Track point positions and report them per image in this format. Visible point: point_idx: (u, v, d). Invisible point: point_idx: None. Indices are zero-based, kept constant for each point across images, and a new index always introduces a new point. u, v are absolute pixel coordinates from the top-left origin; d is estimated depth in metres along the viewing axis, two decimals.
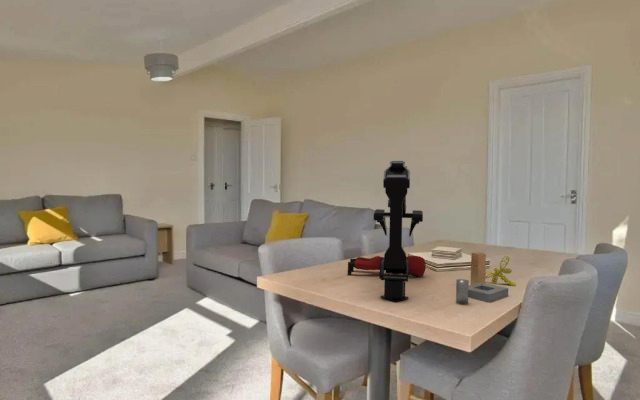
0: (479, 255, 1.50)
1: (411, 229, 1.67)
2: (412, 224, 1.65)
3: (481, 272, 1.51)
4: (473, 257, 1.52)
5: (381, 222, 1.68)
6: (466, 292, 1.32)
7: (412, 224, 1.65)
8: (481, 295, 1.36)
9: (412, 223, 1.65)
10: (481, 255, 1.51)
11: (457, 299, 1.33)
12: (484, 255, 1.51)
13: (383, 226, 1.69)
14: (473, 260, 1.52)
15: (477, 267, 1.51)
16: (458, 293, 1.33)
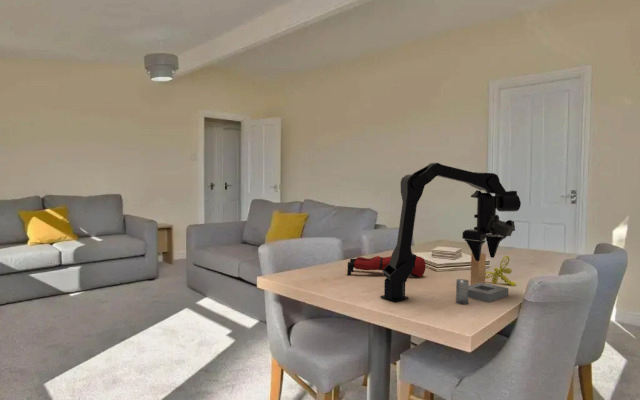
0: None
1: None
2: None
3: (481, 272, 1.51)
4: (473, 257, 1.52)
5: None
6: (466, 292, 1.32)
7: None
8: (481, 295, 1.36)
9: None
10: (481, 255, 1.51)
11: (457, 299, 1.33)
12: (484, 255, 1.51)
13: None
14: (473, 260, 1.52)
15: (477, 267, 1.51)
16: (458, 293, 1.33)
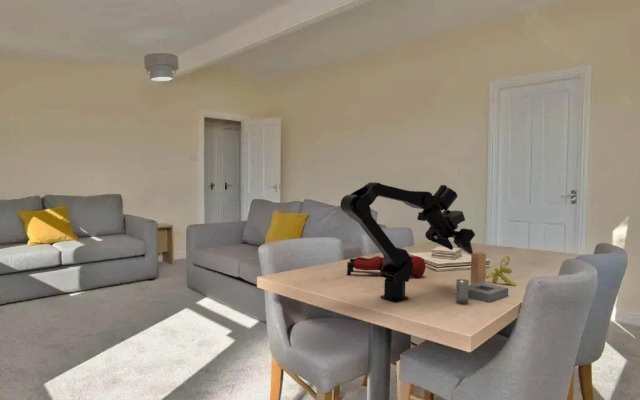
0: (479, 255, 1.50)
1: (464, 250, 1.42)
2: None
3: (481, 272, 1.51)
4: (473, 257, 1.52)
5: None
6: (466, 292, 1.32)
7: (459, 247, 1.41)
8: (481, 295, 1.36)
9: (458, 247, 1.41)
10: (481, 255, 1.51)
11: (457, 299, 1.33)
12: (484, 255, 1.51)
13: (440, 244, 1.52)
14: (473, 260, 1.52)
15: (477, 267, 1.51)
16: (458, 293, 1.33)
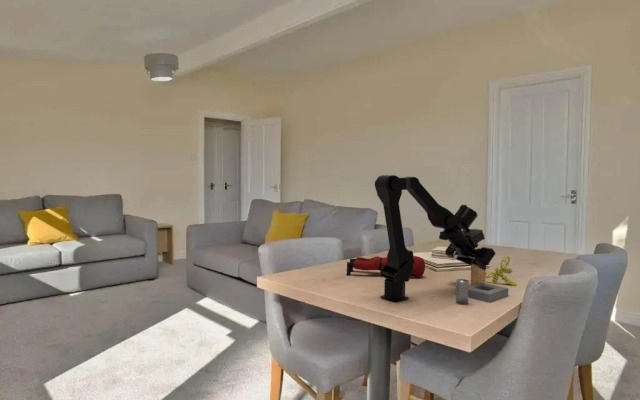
0: None
1: (478, 266, 1.49)
2: (474, 264, 1.48)
3: (481, 272, 1.51)
4: None
5: (460, 260, 1.53)
6: (466, 292, 1.32)
7: None
8: (481, 295, 1.36)
9: None
10: None
11: (457, 299, 1.33)
12: None
13: None
14: (473, 260, 1.52)
15: (477, 267, 1.51)
16: (458, 293, 1.33)
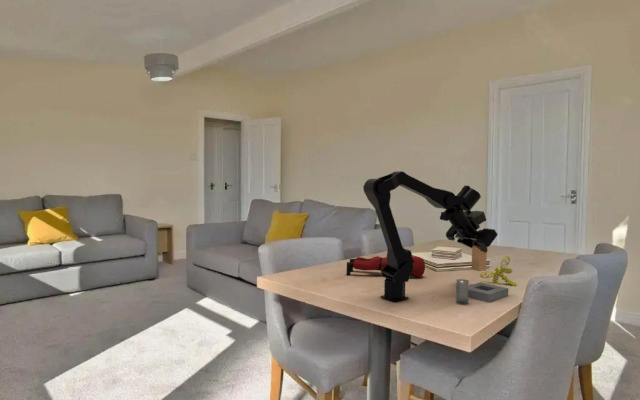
0: None
1: None
2: (475, 246, 1.45)
3: (482, 254, 1.48)
4: None
5: None
6: (466, 292, 1.32)
7: (475, 246, 1.45)
8: (481, 295, 1.36)
9: (474, 245, 1.45)
10: None
11: (457, 299, 1.33)
12: None
13: (466, 245, 1.51)
14: (474, 242, 1.50)
15: (478, 249, 1.48)
16: (458, 293, 1.33)
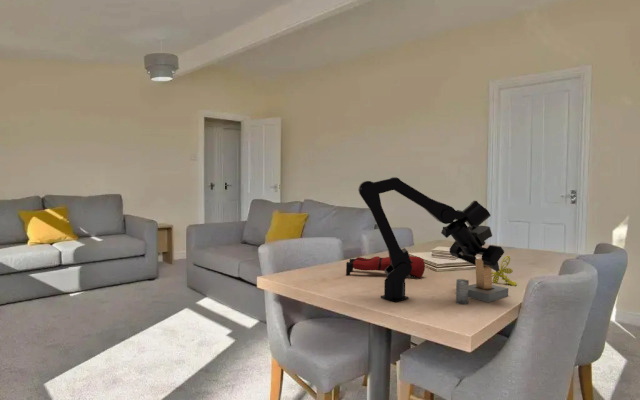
0: None
1: (490, 267, 1.36)
2: (486, 265, 1.35)
3: (487, 279, 1.40)
4: (477, 264, 1.41)
5: (460, 258, 1.44)
6: (466, 292, 1.32)
7: (486, 265, 1.35)
8: (481, 295, 1.36)
9: (485, 264, 1.35)
10: None
11: (457, 299, 1.33)
12: None
13: (466, 261, 1.44)
14: (478, 267, 1.41)
15: (482, 274, 1.39)
16: (458, 293, 1.33)
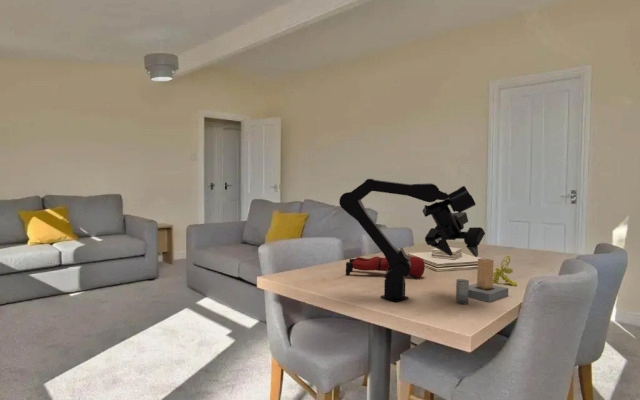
0: (486, 261, 1.39)
1: (472, 251, 1.34)
2: (468, 248, 1.32)
3: (488, 279, 1.40)
4: (479, 263, 1.41)
5: (435, 246, 1.41)
6: (466, 292, 1.32)
7: (468, 247, 1.32)
8: (481, 295, 1.36)
9: (468, 247, 1.32)
10: (488, 261, 1.40)
11: (457, 299, 1.33)
12: (491, 261, 1.40)
13: (440, 249, 1.41)
14: (479, 267, 1.41)
15: (484, 274, 1.40)
16: (458, 293, 1.33)
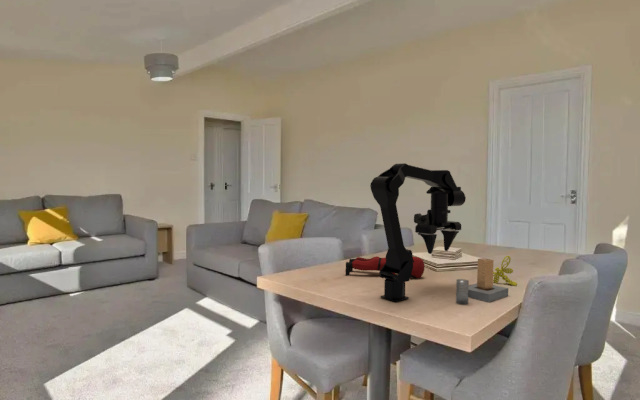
0: (486, 261, 1.39)
1: (451, 241, 1.50)
2: (454, 234, 1.49)
3: (488, 279, 1.40)
4: (479, 263, 1.41)
5: (434, 236, 1.42)
6: (466, 292, 1.32)
7: (455, 233, 1.49)
8: (481, 295, 1.36)
9: (455, 233, 1.49)
10: (488, 261, 1.40)
11: (457, 299, 1.33)
12: (491, 261, 1.40)
13: (434, 241, 1.43)
14: (479, 267, 1.41)
15: (484, 274, 1.40)
16: (458, 293, 1.33)
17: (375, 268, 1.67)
